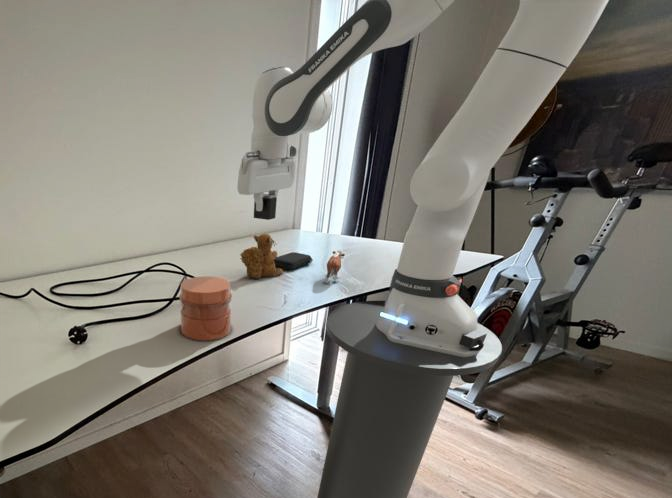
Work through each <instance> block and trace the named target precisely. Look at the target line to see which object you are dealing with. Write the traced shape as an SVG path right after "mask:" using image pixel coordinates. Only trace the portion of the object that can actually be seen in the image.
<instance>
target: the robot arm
mask: <svg viewBox="0 0 672 498" xmlns="http://www.w3.org/2000/svg"><path fill="white" fill-rule="evenodd" d="M455 1H456V0H366V1H365V2H364V3H363V4H362V5H361V6H360V7H359V8H358V9H357V10H356V11H354V13H353V14H352V15H351V16H350V17H348V19H346V21H345V22H344V23H343V24H342V25H341V26H340V27H339V28H338V29H337V30H336V31H335V32H334V33H333V34H332V35H331V36H330V37H329V38H328V39H327V40H326V41H325V42H324V44H322V46H320V47H319V48H318V49H317V50H316V52H315V53H313V55H312V56H311V57H310V58H308V60H307V61H306V62H305V63H304V64H303V65H302V66H301V67H299V68H298V69H297V70H295V72H294V71H292V69H290V67H287V66H279V67H273V68H269V69H267V70H265V71H263V72H262V73H260V75H258V77H257V80H256V82H255V86H254V92H253V101H252V115H251V116H252V117H251V118H252V122H253V128H252V133H251V140H250V141H251V142H250V151H247V152H245V154H243V157H242V158H241V161H240V162H241V163H240V166H239V169H238V177H237V187H236V188H237V192H238V194H239V195H243V196H251V195H253V200H255V203H256V211H263V210H264V209H265V204H264V203H263V200H262V197H263V194H265V193H267V194H272V195H276V197H277V198H278V195H279V190H285V189H290V188H292V187H293V184H294V182H295V176H296V175H295V174H296V167H297V166H296V165H297V164H296V159H295V158H297V157H298V151H299V150H298V147H297V146H295V144H294V145H293V144H292V143H291V142H290V141H289V136H293V135H303V134H304V135H305V134H312V133H315V132H317V131H319V130H321V129H322V128H323V127H324V126H325V125H326V124H327V123H328V122H329V119H330V118H331V115H332V111H333V97H332V94H331V92H330V90H328V89H330V87H332V86H333V85H334V84H335V83H336V82H337V81H338V80H339V79H340V78H341V77H342V76H343V75H344V74H345V73H346V72H347V71H348V70H349V69H350V68H352V67H353V66H354V65H355V64H356V63H357V62H359V61H360V60H362V59H363V58H365V57H366V56H369V55H371V54H373V53H376V52H379V51H381V50H385V49H389V48H390V49H391V48H394V47H399V46H402V45H404V44H406V43H408V42H409V41H411V40H412V39H414V38H415V37H416V36H417V35H419V34H420V33H421V32H423V31H424V30H425V29H426V28H428V27H429V26H430V25H431V24H432V23H433V22H434V21H436V20H437V19H438V17H440V15H441V14H443V12H445V11H446V10H447V9H448V7H450V6H451V5H452V4H453V3H454V2H455ZM609 1H610V0H519V6H518V10H517V13H516V15H515V17H514V18H513V21H512V23H511V25H510V26H509V28H508V30H507V32H506V33H505V35H504V36H503V38H502V39H501V42H500V43H499V44H498V46H497V47H496V49H495V51H494V53H493V55H492V56H491V57H490V59H489V61H488V62H487V64H486V66H485V68H484V69H483V71H482V72H481V74H480V75H479V78H478V79H477V80H476V82H475V84H474V85H473V87H472V89H471V90H470V92H469V94H468V95H467V97H466V98H465V100H464V102H463V103H462V104H461V106H460V107H459V109H458V110H457V111H456V113H455V114H454V116H453V117H452V118H451V120H450V121H449V122H448V124H447V125H446V126H445V128H444V129H443V130H442V132H441V134H439V136H438V138H436V141H434V143H433V145H432V146H431V148H430V149H429V151H428V152H427V153H426V155H425V156H424V158H423V159H422V161H421V162H420V164H419V165H418V167H417V168H416V169H415V171H414V173H413V174H412V177H411V179H410V184H409V193H410V197H411V199H412V200H413V202H414V203H415V204H416V205H417V206H416V209H415V212H414V215H413V217H412V220H411V222H410V225H409V226H408V229H407V231H406V233H405V236H404V240H403V242H402V247H401V251H400V256H399V260H398V263H397V267H396V268H395V269H394V272H393V274H392V276H391V280H390V283H389V284H390V285H389V295H388V298H387V300H386V301H387V303H386V305H385V307H384V309H383V312H381V314H380V317H379V319H378V320H377V322H376V327H377V328H378V329H379V330H380V331H381V332H382V333H384V334H385V335H386V336H387V338H388V339H389V340H390V341H392V342H395V343H400V344H404V345H409V346H413V347H418V348H423V349H427V350H432V351H437V352H441V353H446V354H450V355H455V356H460V357H469V356H473V355H475V354H477V353H478V352H480V350H481V349H482V348H483V346H484V341H485V338H486V335H487V333H484V332H481V331H478V330H476V329H477V323H478V316H477V313H476V311H474V309H472V307H470V306H469V305H468V303H466V302H465V300H464V299H462V297H460V295H459V294H458V293H459V291H460V288H461V284H462V282H463V279H462V278H460V279H459V280H458V278H457V277H456V276H454V272H455V268H456V265H457V263H458V260H459V257H460V254H461V251H462V248H463V244H464V241H465V239H466V236H467V234H468V231H469V229H470V226H471V224H472V222H473V220H474V217H475V215H476V212H477V209H478V208H479V207H478V206H479V204H480V201H481V198H482V196H483V193H484V191H485V188H486V185H487V184H488V183H487V182H488V180H489V177H490V173H491V170H492V168H493V167H494V166H495V164H496V163H498V160H500V158H501V157H502V156H503V154H504V153H505V152H506V151H507V149H508V148H509V146H510V145H511V144H512V143H513V141H515V139H516V137H517V136H518V135H519V134H520V133H521V132H522V130H523V129H524V128H525V127H526V126H527V124H528V123H529V121H530V120H531V119H532V117H533V116H534V114H535V113H536V112H537V110H538V109H539V108H540V106H541V105H542V103H543V102H544V101H545V99H546V98H547V96H549V94H550V92H551V91H552V90H553V89H554V87H555V86H556V85H557V83H558V81H559V80H560V79H561V77H562V76H563V75H564V73H565V72H566V70H567V69H568V68H569V66H570V65H571V63H572V62H573V61H574V59H575V58H576V56H577V55H578V53H579V52H580V50H581V49H582V47H583V46H584V45H585V43H586V41H587V39H588V38H589V36H590V35H591V33H592V32H593V30H594V28H595V26H596V25H597V23H598V21H599V19H600V18H601V16H602V14H603V12H604V10H605V8H606V7H607V5H608V3H609Z"/></svg>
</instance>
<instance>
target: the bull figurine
mask: <svg viewBox="0 0 672 498" xmlns="http://www.w3.org/2000/svg"><path fill="white" fill-rule="evenodd" d="M344 259H345V253H344V252H343V250H340V249H338V250H337V251H335V250H333V251H332V256H330V257H329V259H328V261H327V263H326V270H327V271H326V280H325V281H324V283H325V284H328V283H329V279H330V277H333V283H338V280H337V279H338V273H339V271H340V270H341V269H342V260H344Z"/></svg>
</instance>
